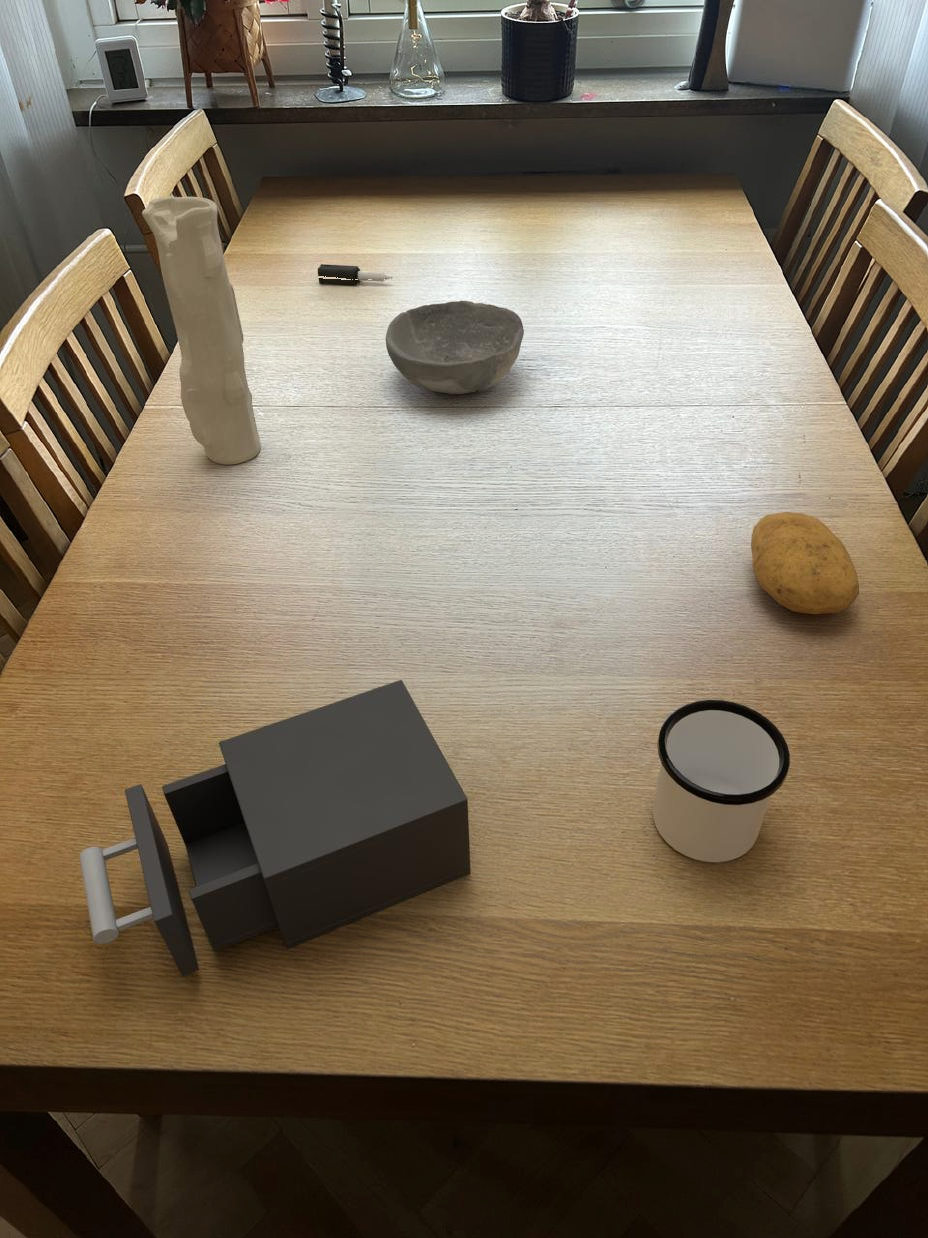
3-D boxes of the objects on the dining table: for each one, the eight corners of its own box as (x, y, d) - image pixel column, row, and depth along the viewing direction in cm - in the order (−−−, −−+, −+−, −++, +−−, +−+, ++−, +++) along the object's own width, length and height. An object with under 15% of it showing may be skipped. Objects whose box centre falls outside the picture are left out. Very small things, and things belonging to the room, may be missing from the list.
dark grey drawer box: (286, 950, 67) (263, 879, 60) (242, 816, 75) (218, 741, 69) (471, 873, 71) (468, 799, 64) (409, 755, 79) (401, 679, 73)
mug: (770, 878, 70) (797, 807, 64) (643, 862, 71) (657, 792, 65) (759, 753, 79) (781, 680, 72) (646, 741, 80) (658, 668, 74)
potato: (763, 635, 89) (778, 581, 84) (731, 551, 98) (743, 497, 93) (859, 631, 89) (880, 576, 84) (818, 547, 98) (834, 493, 93)
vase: (272, 463, 112) (221, 207, 92) (202, 478, 110) (133, 221, 90) (259, 427, 118) (208, 180, 98) (192, 441, 116) (125, 192, 96)
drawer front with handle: (119, 1003, 63) (84, 948, 58) (95, 870, 71) (62, 810, 66) (365, 903, 68) (353, 843, 63) (317, 788, 76) (304, 726, 71)
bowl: (362, 387, 125) (355, 331, 119) (448, 338, 135) (446, 285, 129) (463, 431, 116) (461, 373, 111) (548, 376, 126) (550, 320, 120)
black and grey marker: (319, 284, 149) (391, 288, 147) (317, 269, 148) (390, 273, 146) (323, 277, 151) (395, 281, 149) (321, 262, 149) (393, 266, 148)
